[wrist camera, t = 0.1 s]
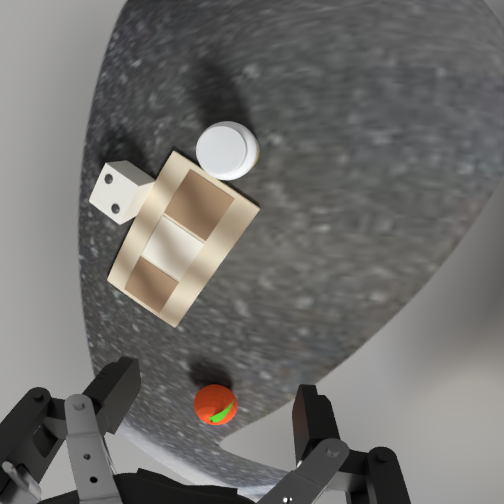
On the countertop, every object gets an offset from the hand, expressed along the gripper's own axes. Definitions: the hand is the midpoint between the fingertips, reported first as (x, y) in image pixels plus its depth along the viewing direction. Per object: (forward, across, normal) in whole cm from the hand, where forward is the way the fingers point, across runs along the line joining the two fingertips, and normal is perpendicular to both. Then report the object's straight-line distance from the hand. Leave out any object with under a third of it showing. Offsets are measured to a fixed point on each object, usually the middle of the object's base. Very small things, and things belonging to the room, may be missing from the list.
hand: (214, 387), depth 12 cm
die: (+21, +15, -8) cm, 28 cm away
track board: (+22, +9, -1) cm, 24 cm away
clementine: (+26, +2, +22) cm, 34 cm away
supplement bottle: (+21, +2, -13) cm, 25 cm away
